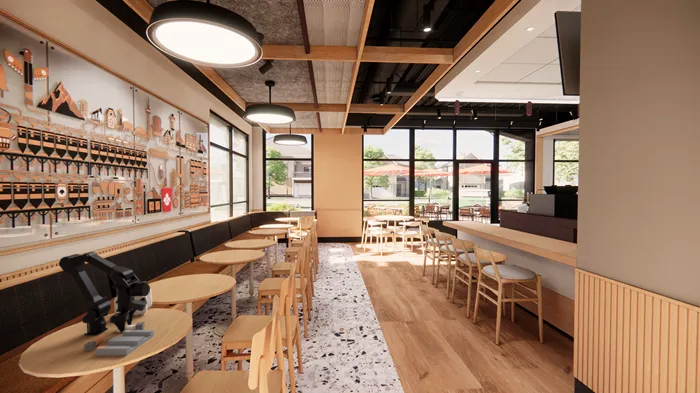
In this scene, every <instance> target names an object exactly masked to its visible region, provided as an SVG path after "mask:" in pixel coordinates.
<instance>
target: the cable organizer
mask: <svg viewBox="0 0 700 393" xmlns="http://www.w3.org/2000/svg"><path fill="white" fill-rule="evenodd" d="M142 297H145V298H146V301H147V304H146V307H145V309H144V310H143V311H139V310H136V311H135V312H134V315H133V316H141V315H144V314H145V313H147V311H148V309H149V308H151V307H152V306H153V294H152V288H150V292H149V294H148V295H147V296H137V297H135V300H138V299H139V300H140V299H141V298H142ZM116 301H117V296H116V297H114V299H113V303H114V314H115V313H120V312H116V310H117V309H118V303H116Z"/></svg>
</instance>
